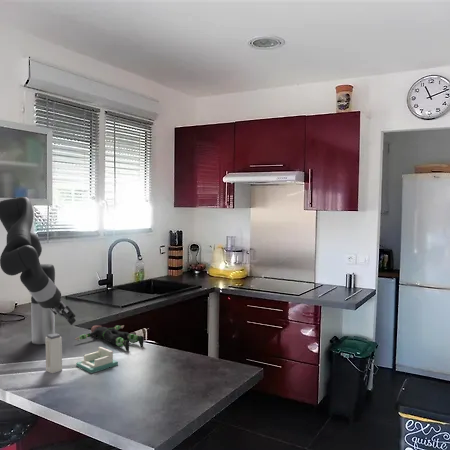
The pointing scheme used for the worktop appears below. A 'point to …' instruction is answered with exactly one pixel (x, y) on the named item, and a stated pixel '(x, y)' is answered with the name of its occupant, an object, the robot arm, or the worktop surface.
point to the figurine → (114, 336)
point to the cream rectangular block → (53, 353)
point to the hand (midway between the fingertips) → (65, 317)
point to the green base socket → (97, 360)
